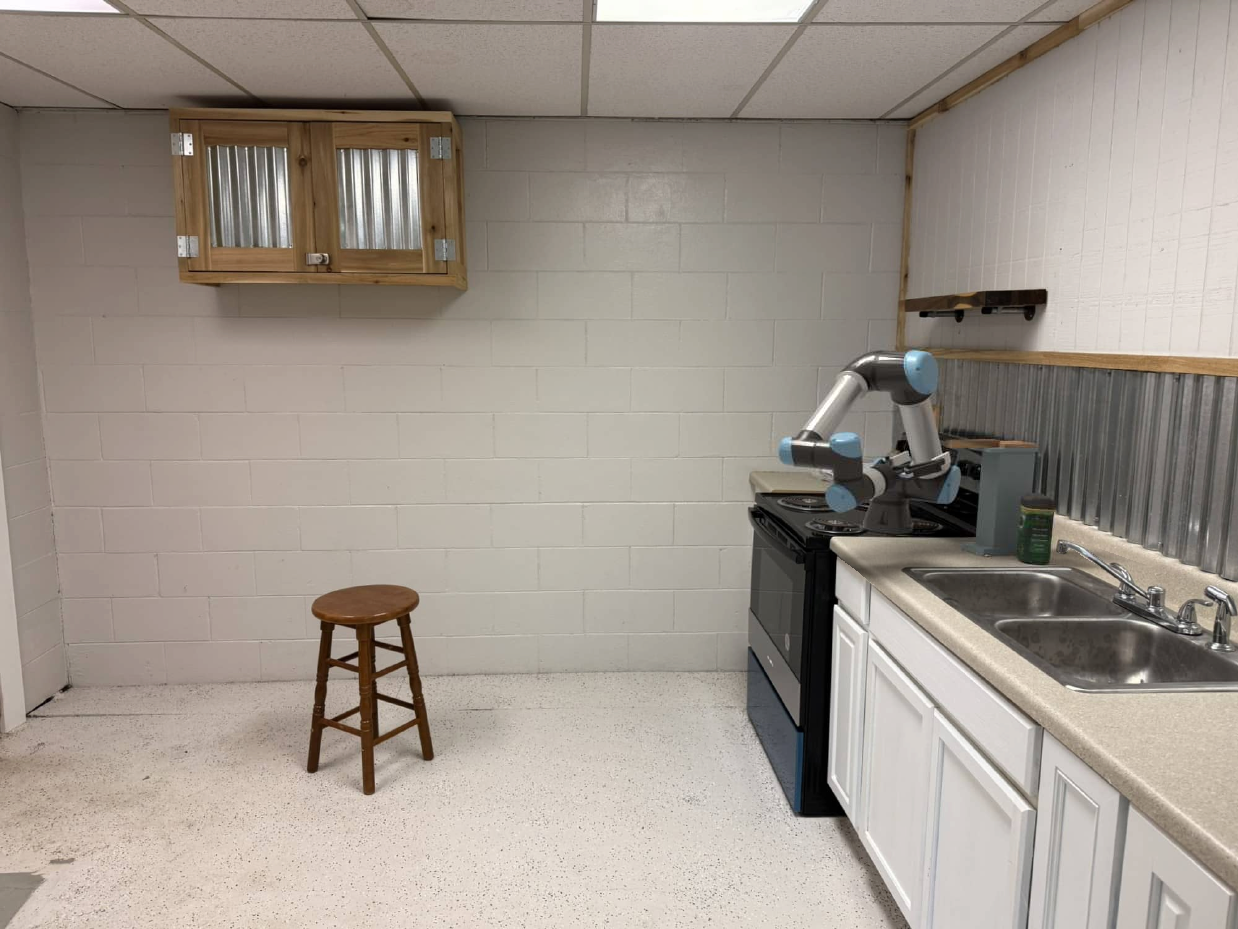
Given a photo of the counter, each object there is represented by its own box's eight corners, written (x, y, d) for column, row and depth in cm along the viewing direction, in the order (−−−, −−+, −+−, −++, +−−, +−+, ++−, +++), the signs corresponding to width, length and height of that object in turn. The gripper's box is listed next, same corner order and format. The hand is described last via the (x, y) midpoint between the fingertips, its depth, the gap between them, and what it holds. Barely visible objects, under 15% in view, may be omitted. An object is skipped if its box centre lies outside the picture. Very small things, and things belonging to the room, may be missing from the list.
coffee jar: (1053, 566, 227) (1059, 497, 225) (1021, 564, 229) (1026, 495, 226) (1043, 558, 236) (1049, 491, 234) (1013, 556, 238) (1018, 490, 236)
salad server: (939, 446, 238) (939, 438, 237) (1016, 445, 246) (1017, 438, 245) (957, 449, 230) (958, 441, 230) (1036, 447, 238) (1037, 440, 238)
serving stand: (961, 549, 245) (968, 445, 241) (1006, 546, 250) (1014, 444, 246) (983, 556, 237) (991, 448, 233) (1029, 553, 241) (1038, 448, 238)
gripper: (843, 491, 235) (894, 467, 245) (916, 497, 214) (969, 471, 224) (837, 465, 234) (889, 442, 244) (911, 469, 212) (964, 443, 222)
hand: (928, 456), depth 234 cm, fingers open, 13 cm apart
